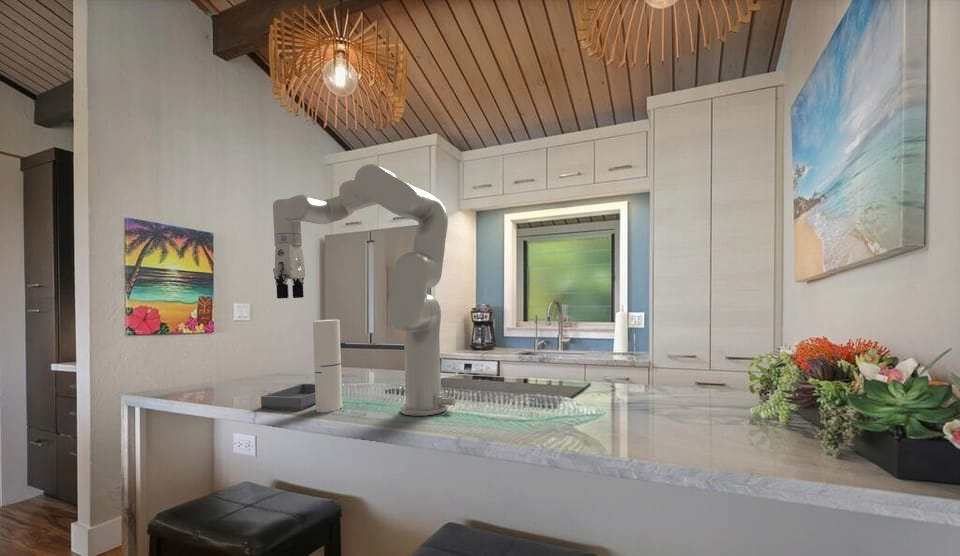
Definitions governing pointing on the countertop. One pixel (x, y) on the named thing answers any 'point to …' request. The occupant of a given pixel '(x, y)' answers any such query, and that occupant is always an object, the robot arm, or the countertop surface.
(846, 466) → the countertop surface
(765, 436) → the countertop surface
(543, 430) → the countertop surface
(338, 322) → the cylindrical container
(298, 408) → the charcoal tray
